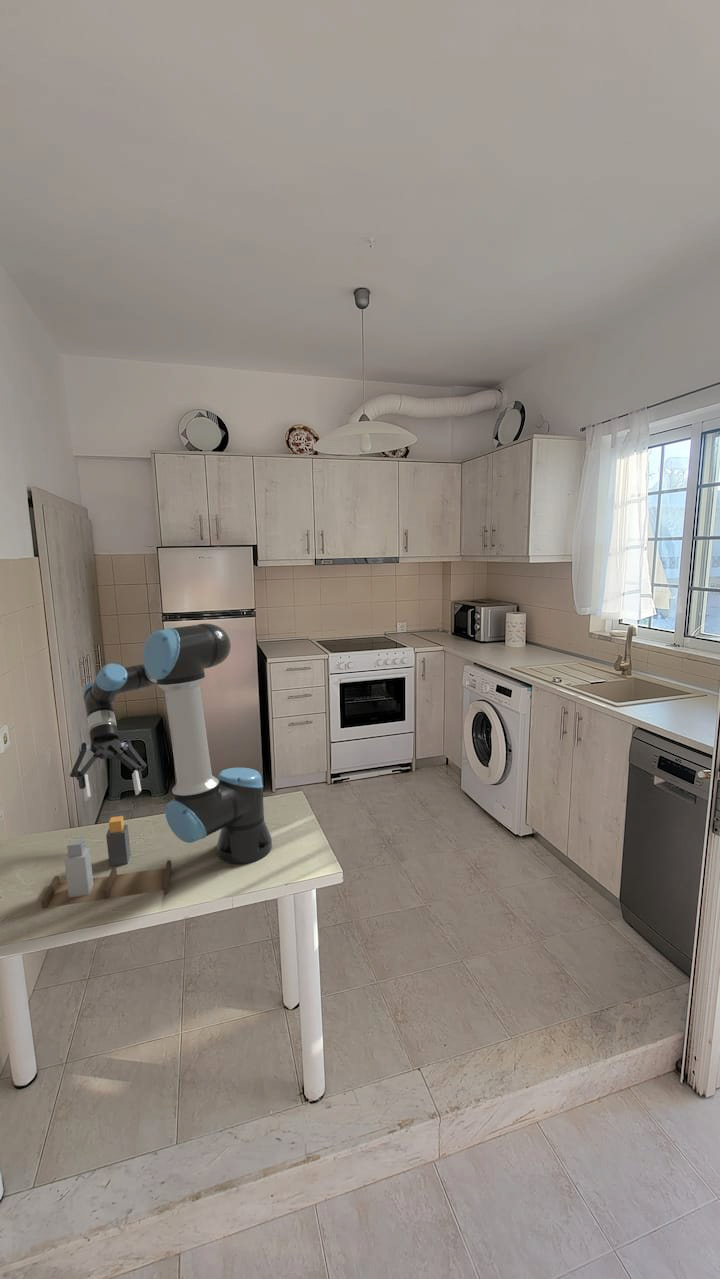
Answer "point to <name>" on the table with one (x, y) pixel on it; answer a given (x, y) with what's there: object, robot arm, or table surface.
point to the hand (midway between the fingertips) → (113, 795)
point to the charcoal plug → (118, 842)
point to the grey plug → (78, 868)
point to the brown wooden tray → (111, 886)
